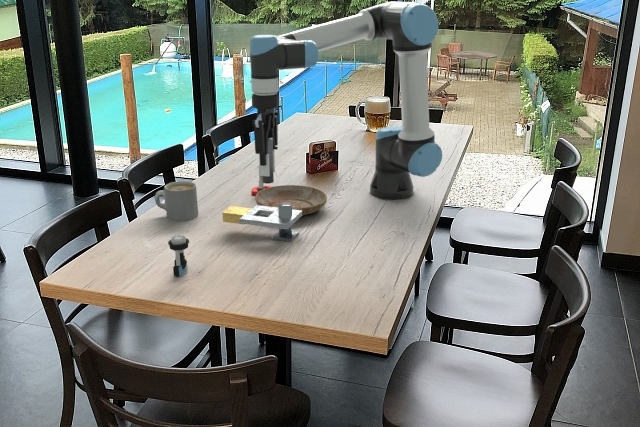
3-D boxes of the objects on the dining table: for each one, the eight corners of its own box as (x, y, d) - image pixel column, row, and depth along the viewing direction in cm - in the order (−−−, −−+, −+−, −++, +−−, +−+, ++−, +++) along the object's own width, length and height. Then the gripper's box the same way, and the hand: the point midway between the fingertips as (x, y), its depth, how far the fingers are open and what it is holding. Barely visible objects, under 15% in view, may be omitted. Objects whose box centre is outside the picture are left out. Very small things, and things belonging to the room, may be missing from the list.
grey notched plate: (302, 230, 208) (301, 199, 205) (287, 245, 198) (286, 213, 194) (236, 222, 215) (235, 192, 212) (219, 236, 205) (217, 204, 201)
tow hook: (255, 188, 248) (248, 195, 239) (254, 153, 244) (247, 159, 235) (278, 189, 247) (272, 196, 238) (277, 154, 243) (271, 160, 234)
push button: (177, 265, 186) (174, 231, 182) (196, 267, 185) (193, 232, 181) (168, 276, 179) (164, 241, 176) (187, 278, 179) (184, 242, 175)
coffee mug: (203, 211, 224) (201, 182, 221) (189, 222, 216) (186, 192, 212) (167, 207, 228) (164, 179, 225) (151, 218, 219) (148, 188, 216)
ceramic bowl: (273, 228, 211) (273, 212, 209) (245, 205, 230) (244, 190, 229) (339, 215, 221) (339, 200, 219) (306, 194, 240) (306, 180, 239)
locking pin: (275, 180, 201) (274, 137, 196) (270, 184, 198) (269, 140, 193) (264, 179, 202) (263, 136, 197) (260, 182, 199) (258, 139, 194)
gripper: (264, 86, 199) (266, 164, 208) (240, 97, 185) (243, 180, 193) (288, 88, 197) (289, 167, 205) (266, 99, 183) (268, 183, 191)
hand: (267, 173), depth 199 cm, fingers closed on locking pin, 3 cm apart
